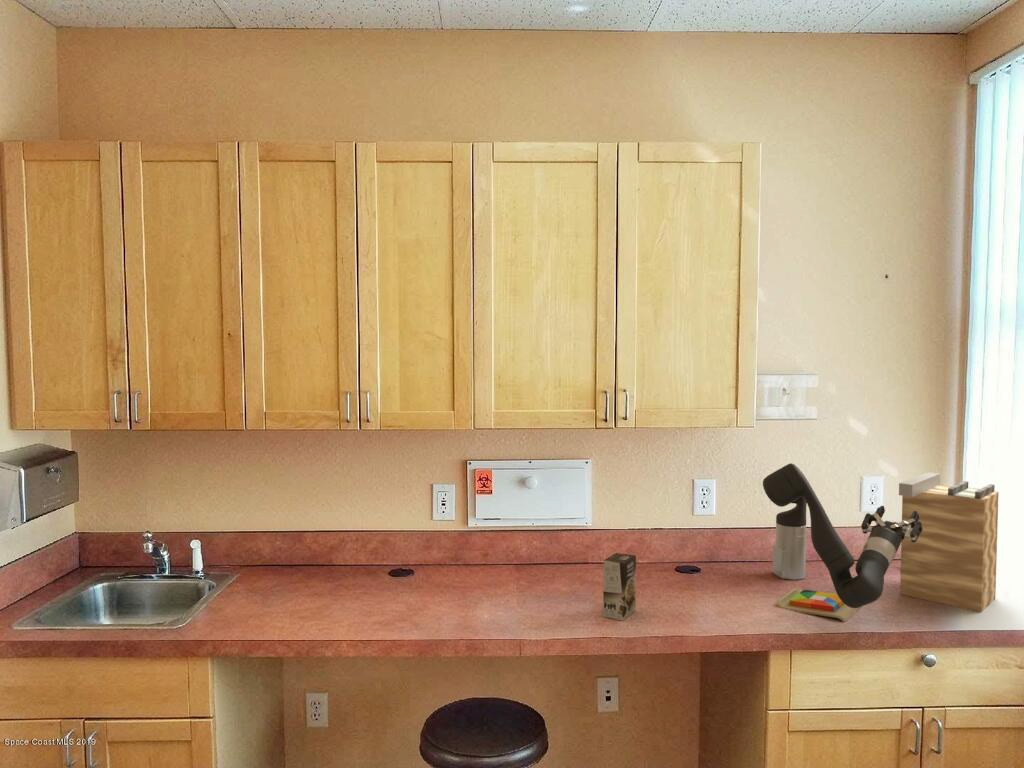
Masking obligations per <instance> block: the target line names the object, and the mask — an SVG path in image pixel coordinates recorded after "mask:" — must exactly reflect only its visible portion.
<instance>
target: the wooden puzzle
mask: <svg viewBox="0 0 1024 768" xmlns="http://www.w3.org/2000/svg"><path fill="white" fill-rule="evenodd" d="M776 603H777V604H776V605H777V606H778V607H779V608H780V607H782V608H781V609H783V608H786V609H785V610H788V609H790V610H789V611H792V610H795V611H794V612H797V611H799V612H798V613H801V612H804V613H803V614H807V613H808V614H810V615H816V616H821V617H822V616H823V617H828V618H834V619H838V620H841V621H842V622H844V623H846V622H848V621H849V620H850V619H851V618H852V617H853V616H854V615H855V614H856V613H857V612H858V611H859V610H860V609H861V608H862V607H859V608H851V607H848V606H847V605H845V604H844V603H843V602H842V601H841V599H840V598H839V596H838V595H837V593H834V592H833V593H831V592H826V591H824V592H823V591H818V590H810V589H803V590H802V589H800V588H799V587H795V588H793V589H792V590H790V591H789V592H787V593H786V594H785V595H783V596H781V597H780V599H778V600H777V602H776ZM856 611H857V612H856ZM855 612H856V613H855ZM854 613H855V614H854ZM853 614H854V615H853Z"/></svg>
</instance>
